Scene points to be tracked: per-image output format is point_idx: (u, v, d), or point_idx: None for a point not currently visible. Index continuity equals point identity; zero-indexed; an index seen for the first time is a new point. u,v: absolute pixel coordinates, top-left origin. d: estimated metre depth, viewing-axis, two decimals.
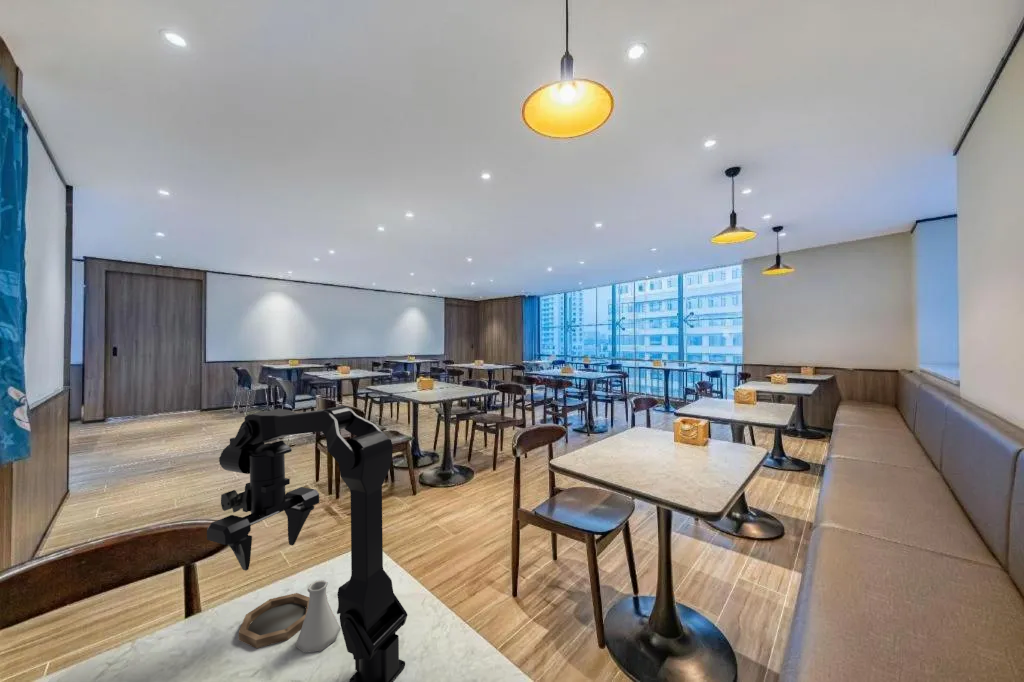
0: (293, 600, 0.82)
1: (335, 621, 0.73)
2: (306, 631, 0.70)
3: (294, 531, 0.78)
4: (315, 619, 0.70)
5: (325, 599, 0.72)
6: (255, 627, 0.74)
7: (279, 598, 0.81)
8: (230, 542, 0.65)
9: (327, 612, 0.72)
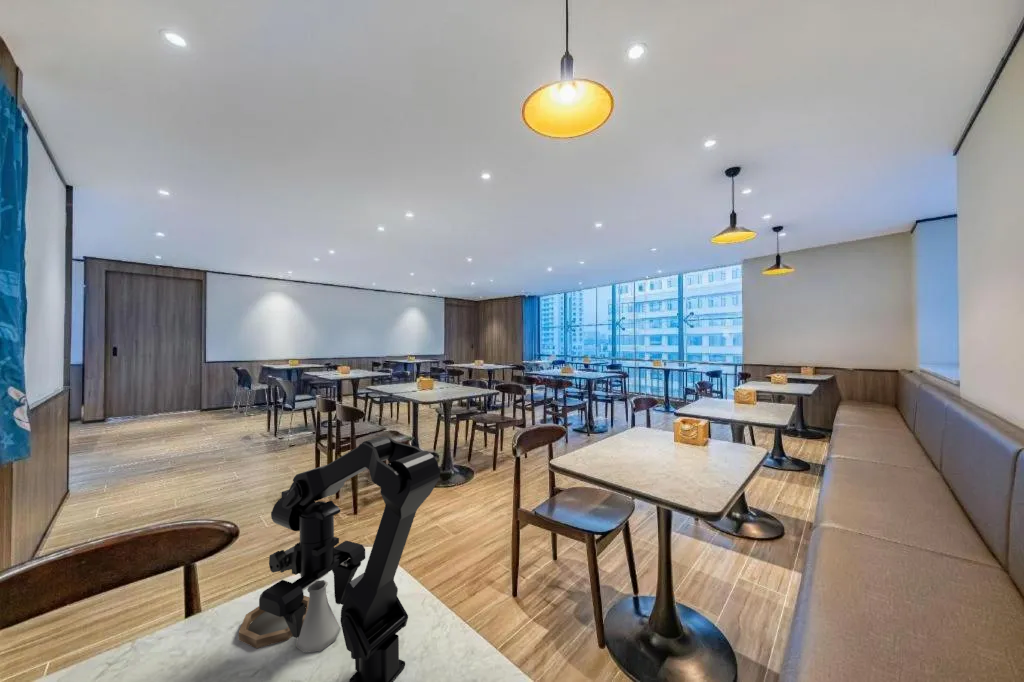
0: None
1: (335, 621, 0.73)
2: (306, 631, 0.70)
3: (341, 590, 0.76)
4: (315, 619, 0.70)
5: (325, 599, 0.72)
6: (255, 627, 0.74)
7: None
8: (285, 614, 0.63)
9: (327, 612, 0.72)
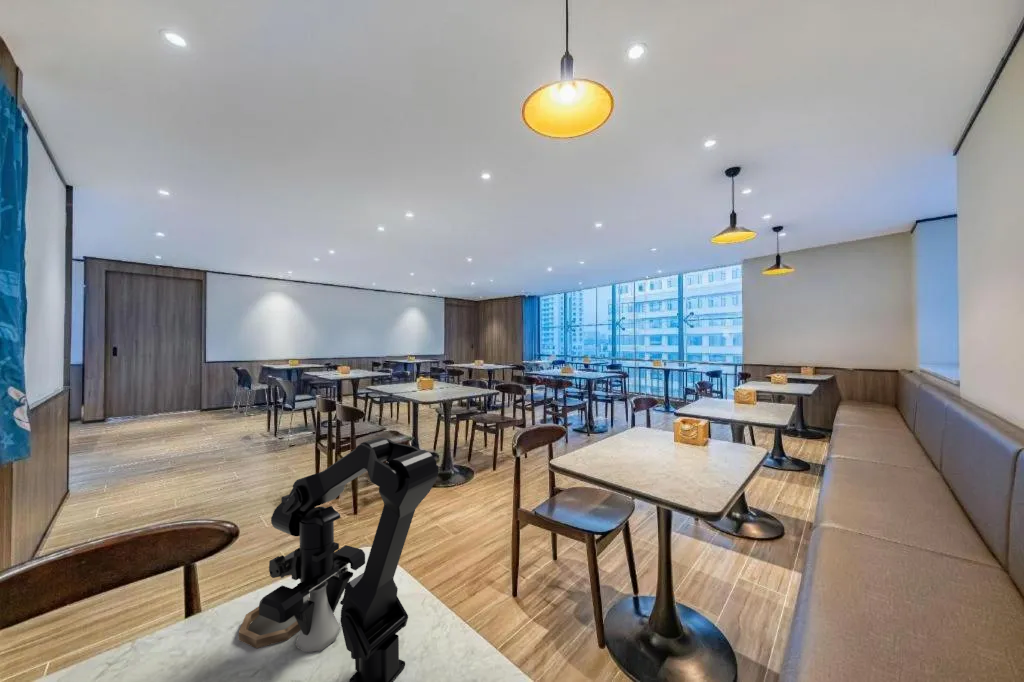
0: None
1: (335, 621, 0.73)
2: None
3: (333, 601, 0.74)
4: (315, 619, 0.70)
5: (325, 599, 0.72)
6: (255, 627, 0.74)
7: None
8: (284, 620, 0.63)
9: (327, 611, 0.72)
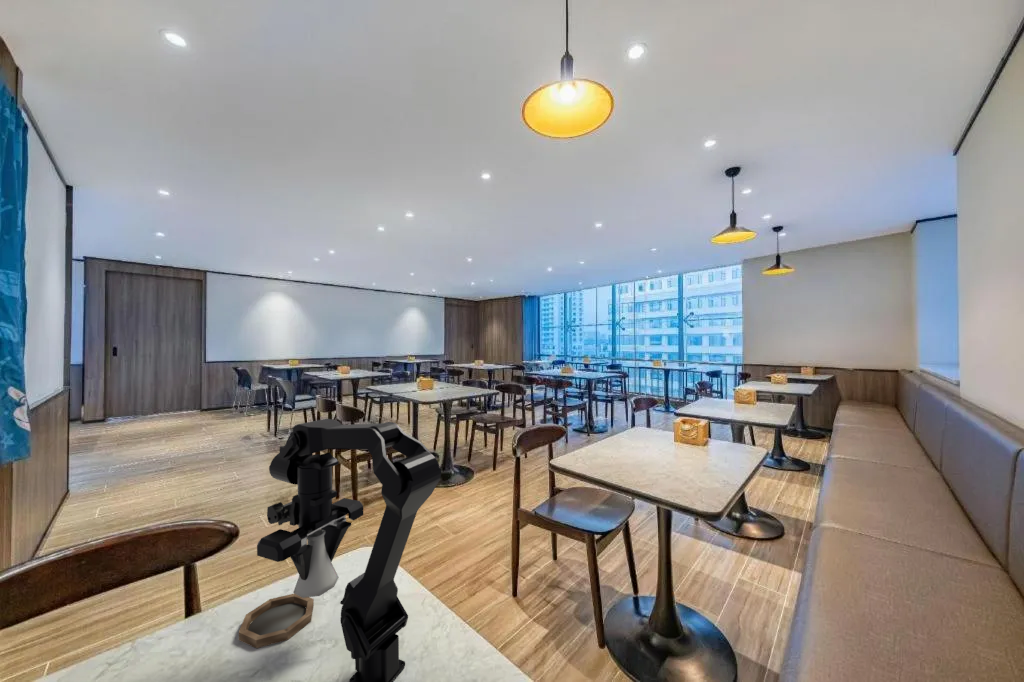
0: (293, 600, 0.82)
1: (333, 570, 0.73)
2: None
3: (331, 550, 0.74)
4: (313, 566, 0.70)
5: (323, 547, 0.72)
6: (255, 627, 0.74)
7: (279, 598, 0.81)
8: (282, 559, 0.63)
9: (326, 559, 0.72)
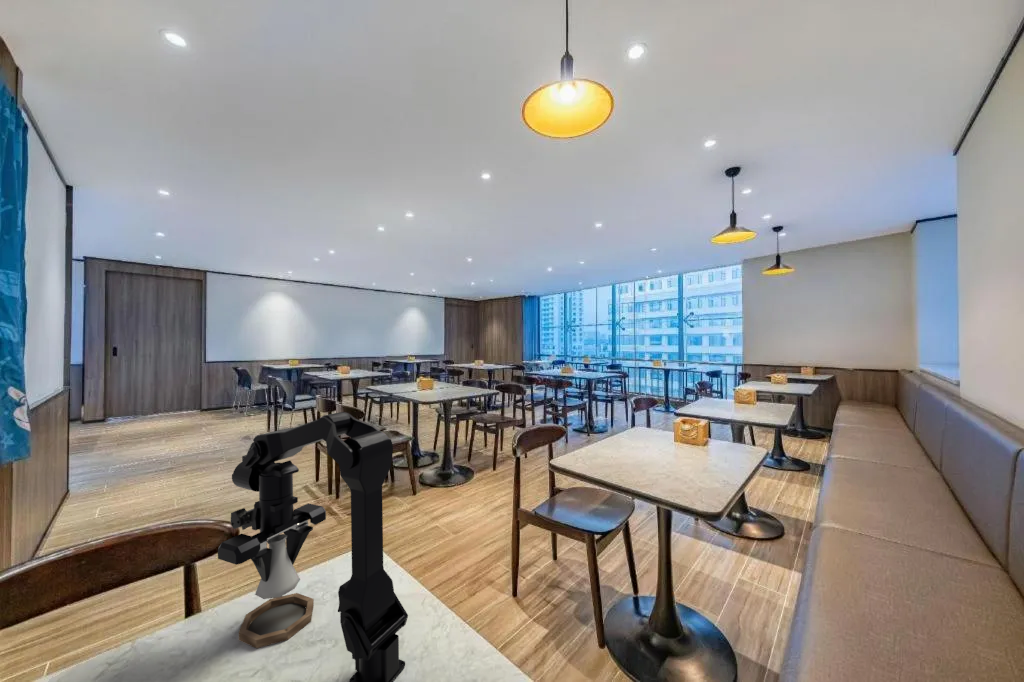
0: (293, 600, 0.82)
1: (294, 572, 0.78)
2: None
3: (292, 553, 0.78)
4: (274, 569, 0.74)
5: (284, 551, 0.76)
6: (255, 627, 0.74)
7: (279, 598, 0.81)
8: (241, 562, 0.67)
9: (287, 562, 0.76)
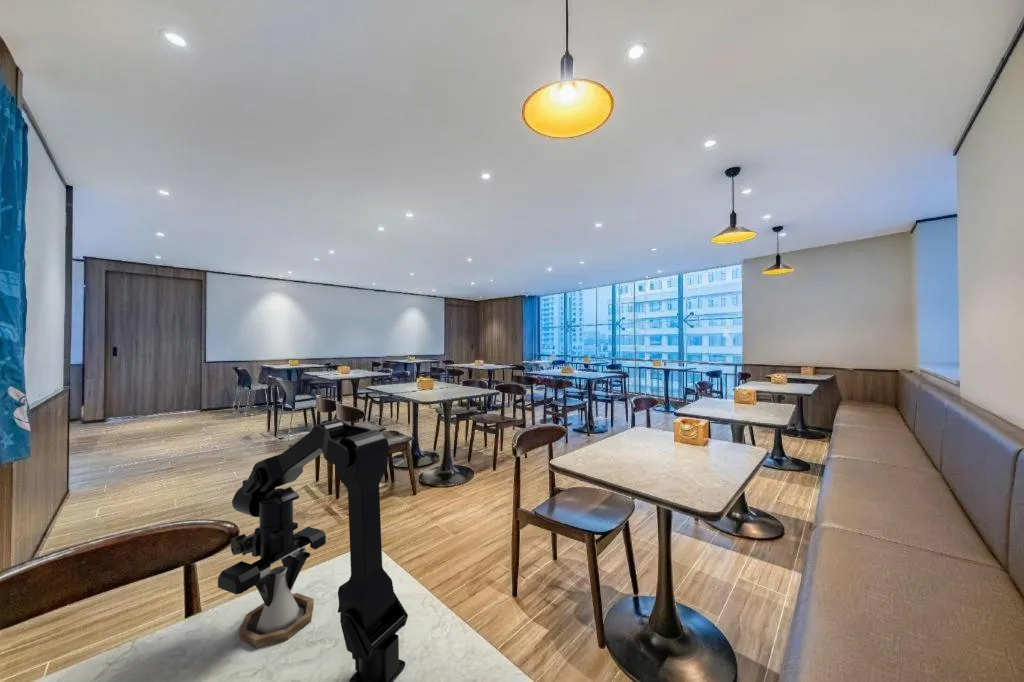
0: None
1: (295, 603, 0.78)
2: (268, 614, 0.74)
3: (290, 580, 0.78)
4: (276, 602, 0.74)
5: (285, 583, 0.77)
6: (255, 627, 0.74)
7: None
8: (241, 591, 0.67)
9: (288, 594, 0.77)
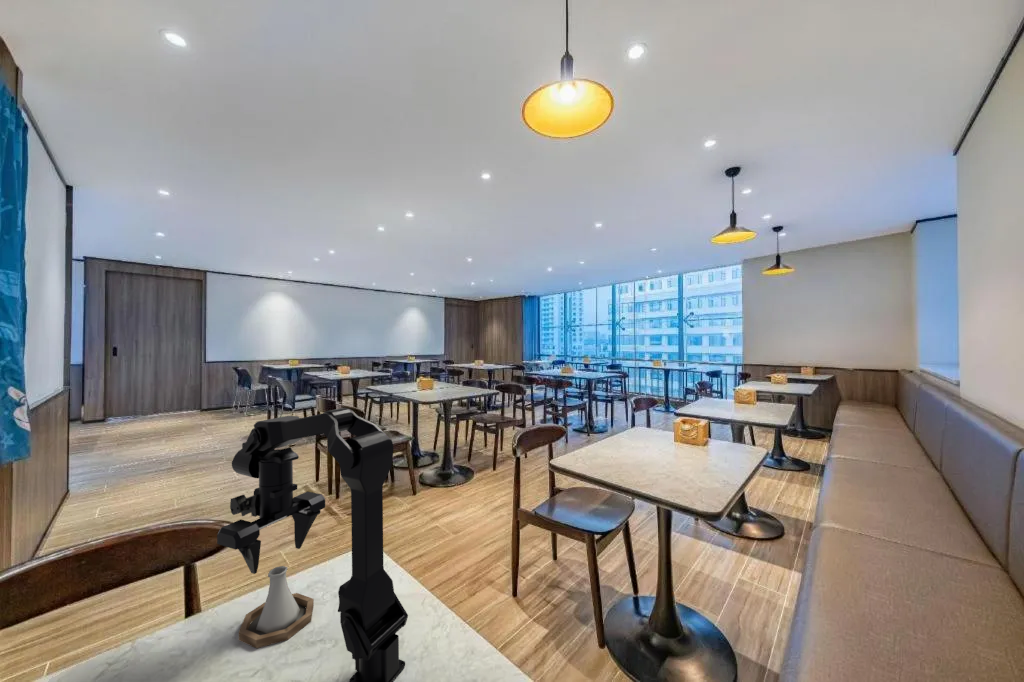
0: None
1: (295, 603, 0.78)
2: (268, 614, 0.74)
3: (301, 535, 0.80)
4: (276, 602, 0.74)
5: (285, 583, 0.77)
6: (255, 627, 0.74)
7: None
8: (240, 547, 0.67)
9: (288, 594, 0.77)
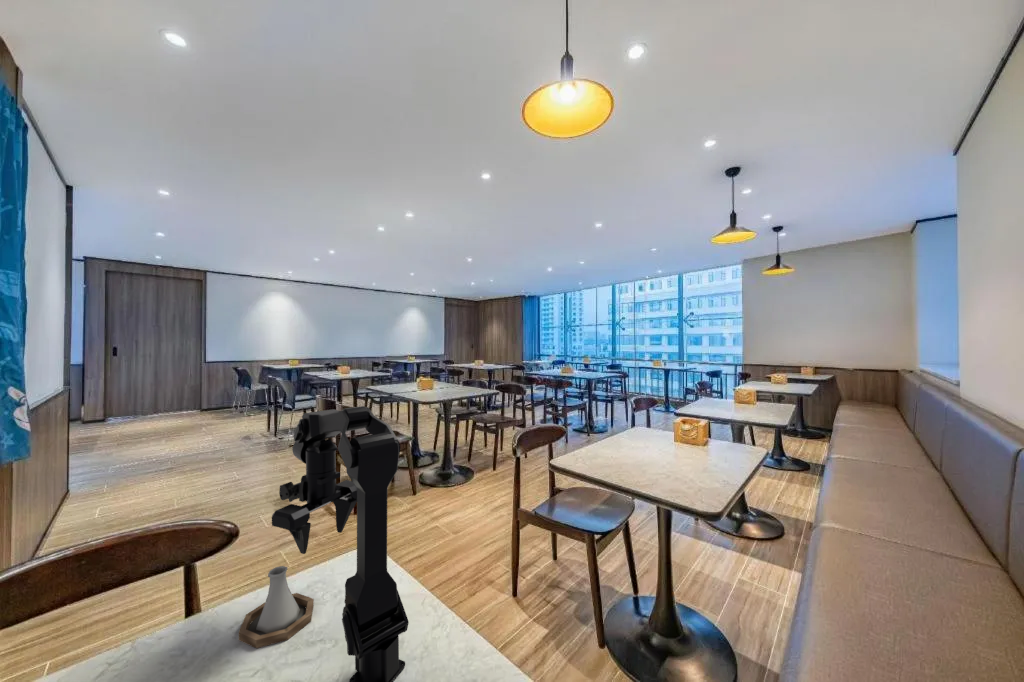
0: None
1: (295, 603, 0.78)
2: (268, 614, 0.74)
3: (342, 520, 0.86)
4: (276, 602, 0.74)
5: (285, 583, 0.77)
6: (255, 627, 0.74)
7: None
8: (294, 528, 0.73)
9: (288, 594, 0.77)
